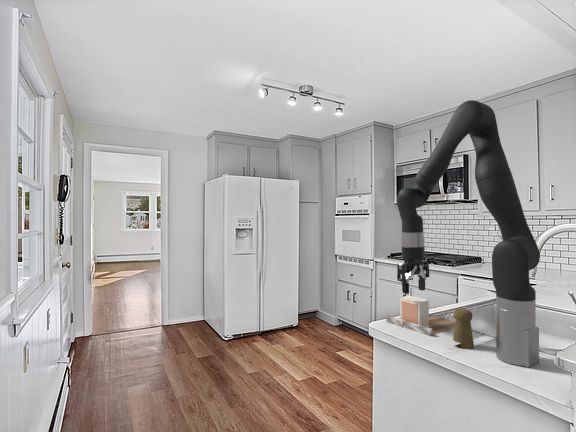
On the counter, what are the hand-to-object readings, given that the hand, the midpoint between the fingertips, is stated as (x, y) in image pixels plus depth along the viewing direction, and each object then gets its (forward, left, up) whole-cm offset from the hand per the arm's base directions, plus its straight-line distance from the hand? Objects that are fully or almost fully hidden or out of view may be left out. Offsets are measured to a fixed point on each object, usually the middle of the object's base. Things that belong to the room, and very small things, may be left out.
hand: (414, 291), depth 124 cm
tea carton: (0, 0, -12) cm, 12 cm away
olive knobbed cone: (-18, 0, -13) cm, 22 cm away
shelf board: (-1, -5, -13) cm, 14 cm away
